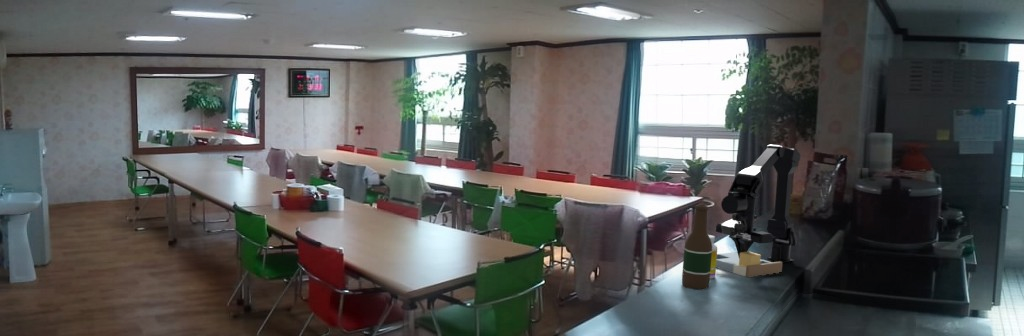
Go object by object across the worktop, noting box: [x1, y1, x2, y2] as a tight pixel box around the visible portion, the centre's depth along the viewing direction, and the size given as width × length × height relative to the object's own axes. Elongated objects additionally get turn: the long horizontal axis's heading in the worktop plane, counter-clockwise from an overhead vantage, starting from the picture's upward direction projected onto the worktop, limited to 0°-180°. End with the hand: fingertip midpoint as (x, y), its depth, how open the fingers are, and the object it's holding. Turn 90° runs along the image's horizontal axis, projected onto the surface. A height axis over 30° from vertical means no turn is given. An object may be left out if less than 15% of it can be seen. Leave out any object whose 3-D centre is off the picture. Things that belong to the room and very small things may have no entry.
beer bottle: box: [681, 204, 712, 290], centre depth 192 cm, size 8×8×24 cm
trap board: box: [716, 251, 784, 278], centre depth 219 cm, size 16×19×4 cm
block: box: [739, 251, 762, 267], centre depth 211 cm, size 4×4×4 cm
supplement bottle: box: [708, 234, 718, 280], centre depth 205 cm, size 7×7×13 cm
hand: (740, 258), depth 215 cm, fingers closed
